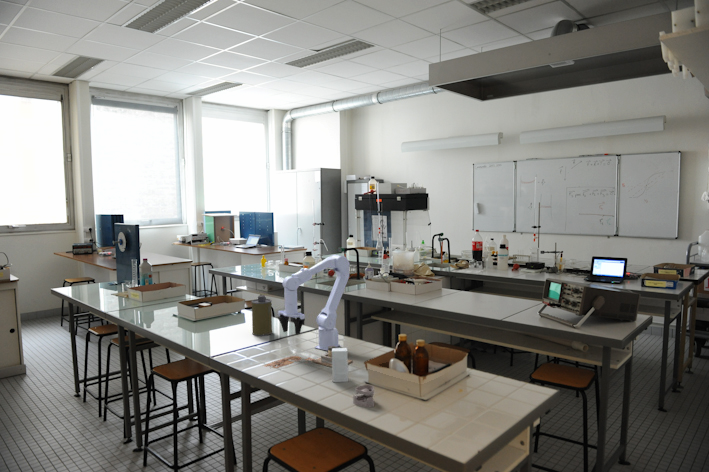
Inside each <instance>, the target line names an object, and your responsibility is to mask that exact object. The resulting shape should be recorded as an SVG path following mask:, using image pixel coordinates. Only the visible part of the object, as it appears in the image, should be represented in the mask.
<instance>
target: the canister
mask: <svg viewBox="0 0 709 472" xmlns="http://www.w3.org/2000/svg"><path fill="white" fill-rule="evenodd" d="M251 317H252V319H251V320H252V336H257V337H259V336H260V337H265V336H269V335H272V334H273V320H272V318H273V316H272V299H270V298H267V297H266V295H265V294H264V295H258V296H257V298H256V299H252V300H251Z"/></svg>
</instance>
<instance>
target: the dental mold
mask: <svg viewBox="0 0 709 472" xmlns="http://www.w3.org/2000/svg"><path fill="white" fill-rule="evenodd" d="M374 392H375V387H374V386H373V385H371V384H362V385H358V386H356V387H355V394H352V403H353V404H354V405H355V406H360V407H363V408H373V407H374V406H375V400H374V398H373V397H374V395H375V394H374ZM358 394H359V395H358Z"/></svg>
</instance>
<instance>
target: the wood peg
mask: <svg viewBox="0 0 709 472" xmlns="http://www.w3.org/2000/svg"><path fill="white" fill-rule="evenodd" d="M332 348H337V347H336V346H329V347H328V351H327V353H328V357H332Z"/></svg>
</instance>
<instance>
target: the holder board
mask: <svg viewBox="0 0 709 472" xmlns="http://www.w3.org/2000/svg"><path fill="white" fill-rule="evenodd" d="M311 362H312V363H313V364H318V365H322V366H327V367H330V368H332V357H328V352H327V353H324V354H323V355H321V356H320V357H319V358H316V359H315V360H313V361H311ZM352 363H353V360H352V359H348V365H349V364H352Z"/></svg>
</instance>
